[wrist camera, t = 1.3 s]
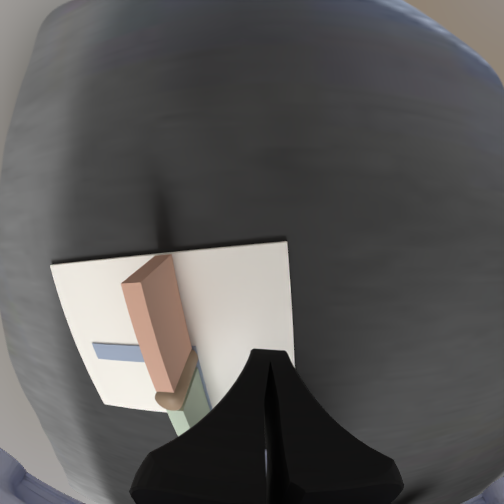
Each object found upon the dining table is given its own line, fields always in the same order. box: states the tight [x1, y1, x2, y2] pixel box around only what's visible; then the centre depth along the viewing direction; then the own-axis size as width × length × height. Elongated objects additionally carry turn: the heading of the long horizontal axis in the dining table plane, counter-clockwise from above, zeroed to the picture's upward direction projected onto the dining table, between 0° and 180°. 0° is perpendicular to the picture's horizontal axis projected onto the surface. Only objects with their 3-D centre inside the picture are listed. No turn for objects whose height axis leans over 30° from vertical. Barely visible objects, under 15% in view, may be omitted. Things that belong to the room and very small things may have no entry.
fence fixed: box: [166, 368, 210, 436], centre depth 19 cm, size 7×2×5 cm, turn 6°
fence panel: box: [121, 254, 198, 411], centre depth 17 cm, size 9×2×5 cm, turn 6°
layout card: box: [50, 241, 295, 412], centre depth 21 cm, size 15×19×1 cm
